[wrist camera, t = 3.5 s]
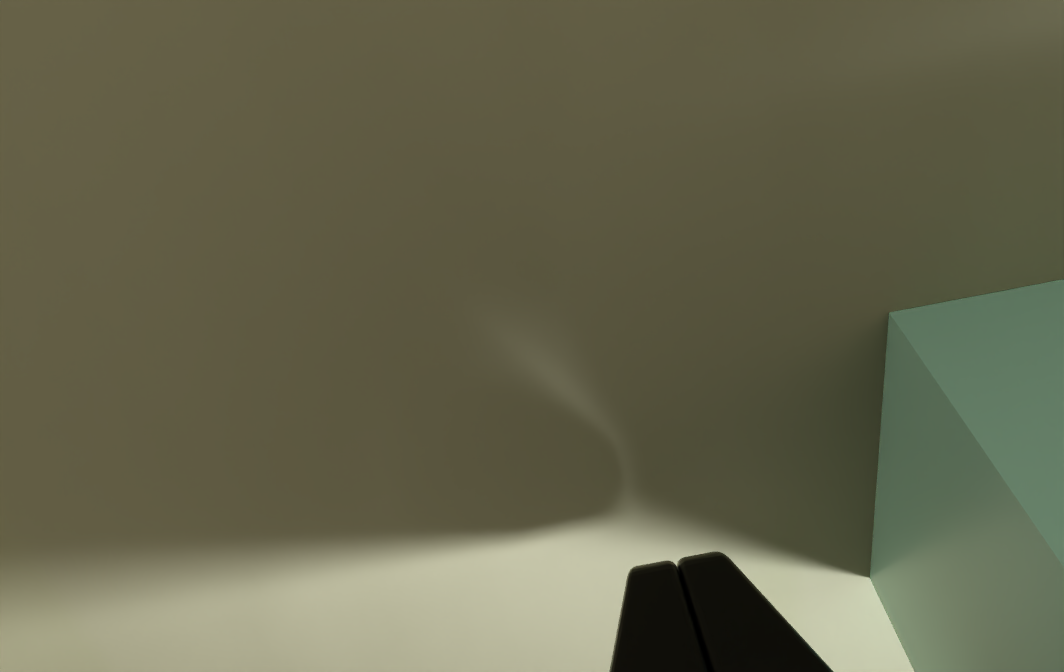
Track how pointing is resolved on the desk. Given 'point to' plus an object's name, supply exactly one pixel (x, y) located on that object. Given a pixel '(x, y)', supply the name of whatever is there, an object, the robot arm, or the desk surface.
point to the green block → (974, 482)
